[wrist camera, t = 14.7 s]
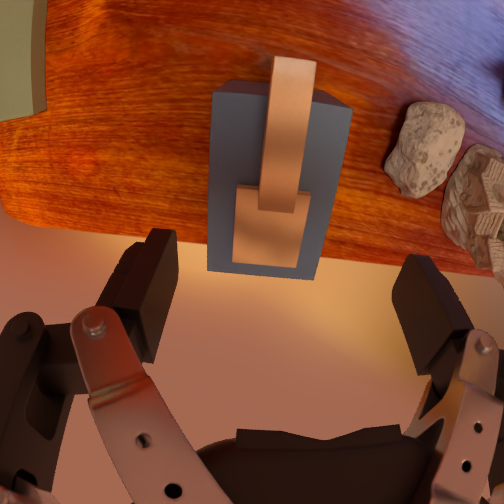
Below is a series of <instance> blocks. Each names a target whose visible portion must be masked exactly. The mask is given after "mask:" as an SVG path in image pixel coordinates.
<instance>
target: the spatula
mask: <svg viewBox="0 0 504 504" xmlns="http://www.w3.org/2000/svg"><path fill="white" fill-rule="evenodd" d="M316 66H317V62H316V61H312V60H306V59H299V58H292V57H284V56H276V55H275V56H273V57H272V65H271V74H270V83H269V93H268V102H267V111H266V121H265V130H264V140H263V149H262V158H261V168H260V177H259V186H252V185H240V184H238V186H237V194H236V209H235V224H234V239H233V255H232V262H236V263H247V264H258V265H269V266H280V267H292V268H296V266H297V261H298V256H299V252H300V247H301V242H302V238H303V233H304V228H305V223H306V218H307V213H308V208H309V203H310V198H311V195H310V192H308V191H299V190H298V185H299V179H300V173H301V167H302V161H303V155H304V148H305V142H306V136H307V129H308V122H309V116H310V109H311V102H312V95H313V88H314V81H315V73H316Z"/></svg>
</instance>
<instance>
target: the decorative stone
mask: <svg viewBox="0 0 504 504" xmlns="http://www.w3.org/2000/svg"><path fill="white" fill-rule="evenodd" d="M464 131H465V123H464V121H463V119H462V118H461V116H460V115H459V113H458V112H457V111H455V110H454V109H452V108H451V107H450V106H448V105H446V104H443V103H437V102H416V103H413V104H411V105H410V106H409V108H408V110H407V112H406V120H405V122H404V124H403V126H402V129H401V131H400V134H399V138H398V142H397V145H396V147H395V148H394V149H393V151H392V152H391V154H390V155H389V156H388V158H387V159H386V162H385V166H384V171H385V173H387V174H388V175H389V176H390V177H391V179H392V180H393V182H394V184H395V185H396V186H398V187H399V188H400V190H401V194H402V195H404V196H406V197H410V198H416V199H417V198H421V197H423V196H425V195H426V194H428V193H429V192H431V191H432V190H434V189H435V188H436V187H437V186H438V185H440V184H441V183H442V182H443V181H444V180H445V179H446V178H447V172H448V170H449V169H450V167H451V166H452V165H453V162H454V160H455V157H456V154H457V152H458V151H459V149H460V147H461V143H462V138H463V135H464Z"/></svg>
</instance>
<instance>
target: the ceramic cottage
mask: <svg viewBox="0 0 504 504" xmlns="http://www.w3.org/2000/svg"><path fill="white" fill-rule="evenodd" d="M443 201H444V202H443V204H442V205H443V206H442V212H441V215H442V216H441V217H442V218H441V226H442V228H443V230H444V232H445V234H446V235H447V236H448V237H449V238H450V239H451V240H452V241H453V242H454V243H455V244H457V245H460V246H461V247H462V248H463V249H465V250H468V251H469V253H470V255H471V256H472V258H473V259H474V261H475V267H476V268H477V269H490V270H491V271H492V272H494V276H495V279H496V280H497V281H498V282H500V283H501V284H502V286H503V288H504V157H502V156H501V154H500V153H499V152H498V151H496V150H495V149H491V148H490V149H489V148H488V147H486V146H483V145H480V144H479V145H478V144H476V145H473V146H472V147H470V149H468V150H467V153H466V154H465V155H464V158H463V159H462V160H461V161H460V163H459V164H458V167H457V168H456V170H455V172H453V174H452V175H451V177H450V179H449V181H448V184H447V186H446V190H445V194H444V200H443Z"/></svg>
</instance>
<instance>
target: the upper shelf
mask: <svg viewBox="0 0 504 504" xmlns="http://www.w3.org/2000/svg"><path fill="white" fill-rule="evenodd" d="M268 93H269V83H265V82H254V81H242V80H229V81H228V82H226V83H225V84H223V85H222V86H220V87H219V88H218V89H216V90H215V91H213V93H212V110H211V129H210V152H209V181H208V227H207V270H208V271H214V272H225V273H235V274H246V275H256V276H268V277H279V278H291V279H302V280H314V277H315V273H316V269H317V266H318V262H319V258H320V255H321V251H322V247H323V243H324V239H325V236H326V232H327V228H328V224H329V220H330V216H331V212H332V207H333V203H334V199H335V195H336V190H337V186H338V182H339V177H340V173H341V168H342V163H343V159H344V154H345V149H346V144H347V139H348V134H349V129H350V124H351V119H352V113H353V109H352V108H351V107H349V106H348V105H346V104H344V103H343V102H341V101H340V100H338V99H336V98H335V97H333V96H331V95H330V94H328V93H327V92H325V91H323V90H317V89H313V95H312V102H311V109H310V116H309V122H308V129H307V136H306V142H305V148H304V155H303V161H302V167H301V173H300V179H299V185H298V190H299V191H308V192H310V195H311V198H310V203H309V208H308V213H307V218H306V223H305V228H304V233H303V238H302V242H301V247H300V252H299V256H298V261H297V266H296V268H292V267H280V266H269V265H258V264H247V263H236V262H232V255H233V239H234V224H235V209H236V194H237V186H238V184H240V185H252V186H259V177H260V168H261V158H262V149H263V140H264V130H265V121H266V111H267V102H268Z"/></svg>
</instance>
